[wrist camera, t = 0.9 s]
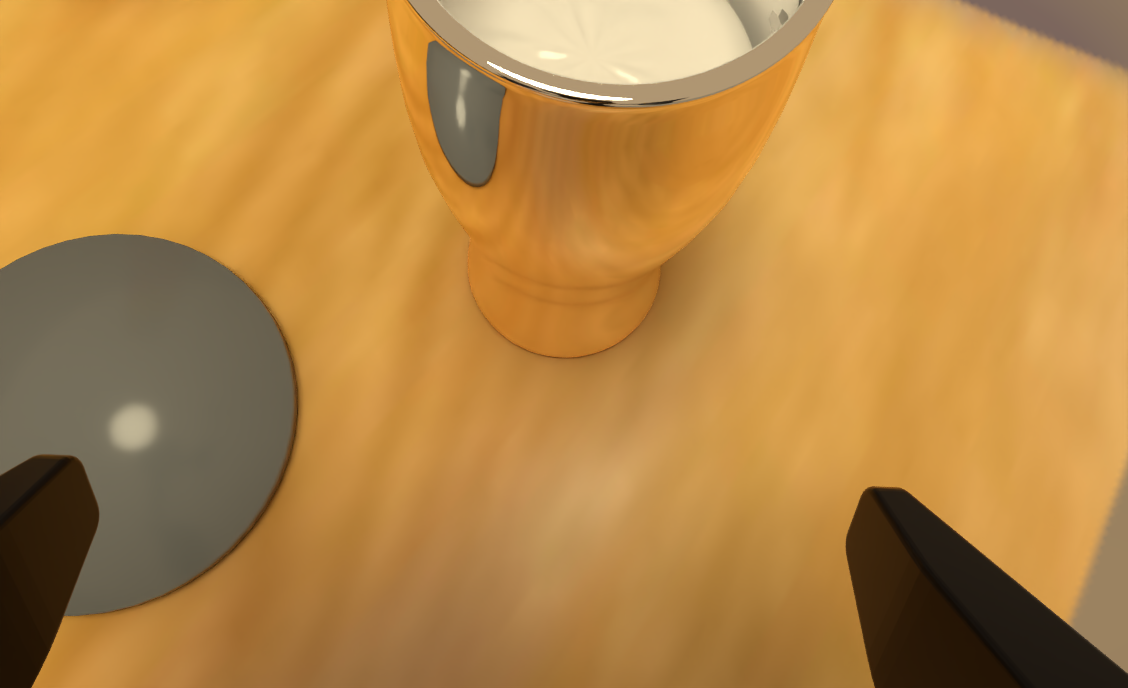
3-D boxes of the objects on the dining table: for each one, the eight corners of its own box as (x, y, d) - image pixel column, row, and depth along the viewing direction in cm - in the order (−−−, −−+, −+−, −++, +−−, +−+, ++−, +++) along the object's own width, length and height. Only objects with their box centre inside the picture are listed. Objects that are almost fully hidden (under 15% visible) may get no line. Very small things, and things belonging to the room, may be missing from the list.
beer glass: (619, 136, 26) (734, -366, 12) (709, 323, 25) (968, 14, 10) (421, 208, 25) (281, -240, 11) (503, 408, 24) (469, 199, 9)
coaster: (364, 477, 23) (360, 475, 23) (2, 695, 21) (-12, 699, 21) (195, 180, 25) (188, 172, 25) (-149, 357, 23) (-166, 352, 23)
